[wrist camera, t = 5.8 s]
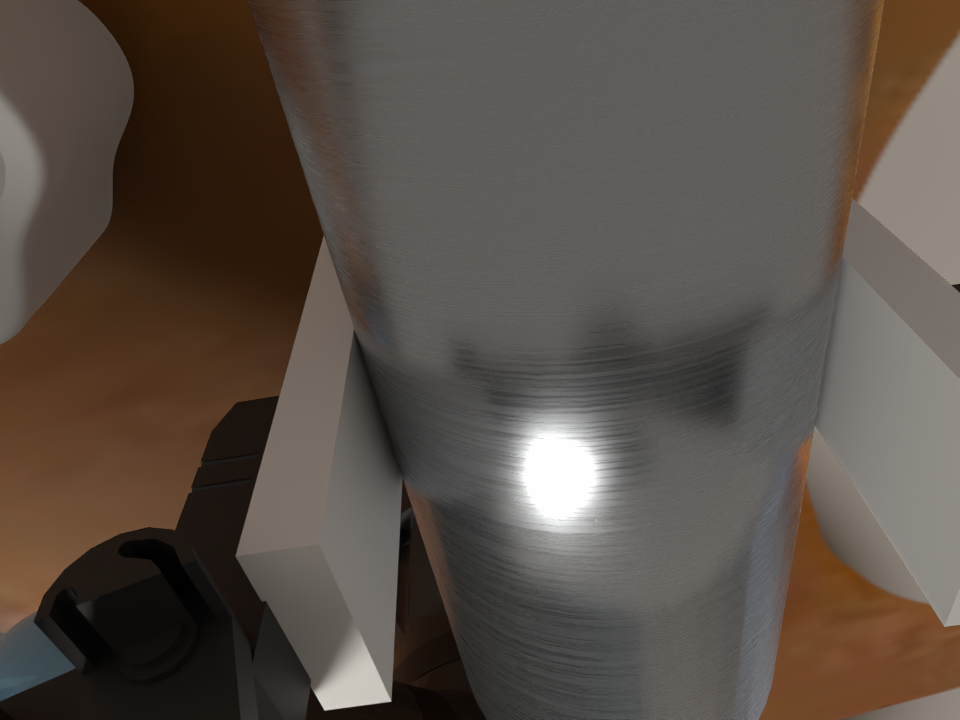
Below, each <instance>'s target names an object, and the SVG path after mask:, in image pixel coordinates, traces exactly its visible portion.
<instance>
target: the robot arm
mask: <svg viewBox="0 0 960 720" xmlns="http://www.w3.org/2000/svg"><path fill="white" fill-rule="evenodd" d="M815 426H816V427H817V429H818V430H819V432H820V433H821V435H822V437H823V438H824V440H825V441H826V443H827V444H828V446H829V447H830V449H831V451H832V452H833V454H834V455H835V457H836V458H837V460H838V461H839V463H840V465H841V466H842V467H843V469H844V471H845V472H846V474H847V476H848V477H849V479H850V480H851V482H852V483H853V485H854V486H855V488H856V489H857V491H858V493H859V494H860V496H861V497H862V499H863V500H864V502H865V503H866V505H867V507H868V508H869V510H870V511H871V513H872V514H873V516H874V517H875V519H876V521H877V522H878V524H879V525H880V527H881V528H882V530H883V532H884V533H885V535H886V536H887V538H888V539H889V541H890V543H891V544H892V546H893V547H894V549H895V550H896V552H897V553H898V555H899V557H900V558H901V560H902V561H903V563H904V564H905V566H906V567H907V569H908V570H909V572H910V574H911V575H912V577H913V578H914V580H915V581H916V583H917V585H918V586H919V588H920V589H921V591H922V592H923V594H924V596H925V597H926V599H927V600H928V602H929V603H930V605H931V606H932V608H933V610H934V611H935V613H936V614H937V616H938V617H939V619H940V620H941V622H942V624H943V625H944V627H947V626H954V625H960V284H956V285H951V284H949V283H948V282H947V281H946V280H945V279H943V278H942V277H941V276H940V275H939V274H938V273H937V272H936V271H934V270H933V269H932V268H931V267H930V266H929V265H928V264H927V263H925V262H924V261H923V260H922V259H921V258H920V257H918V256H917V255H916V254H915V253H914V252H913V251H912V250H911V249H909V248H908V247H907V246H906V245H905V244H904V243H902V242H901V241H900V240H899V239H898V238H897V237H896V236H895V235H893V234H892V233H891V232H890V231H889V230H888V229H887V228H885V227H884V226H883V225H882V224H881V223H880V222H879V221H877V220H876V219H875V218H874V217H873V216H872V215H871V214H869V213H868V212H867V211H866V210H865V209H864V208H863V207H862V206H860V205H859V204H858V203H857V202H856V201H855V200H854V199H852V201H851V207H850V213H849V219H848V226H847V232H846V238H845V244H844V250H843V256H842V262H841V268H840V274H839V280H838V286H837V292H836V298H835V304H834V310H833V316H832V322H831V329H830V335H829V341H828V347H827V353H826V359H825V365H824V371H823V377H822V383H821V389H820V395H819V401H818V407H817V413H816V419H815ZM201 464H202V466H201V467H198V470H197V473H196V476H195V478H194V481H193V484H192V486H191V487H192V493H189V494H188V497H187V500H186V502H185V505H184V508H183V510H182V513H181V516H180V519H179V521H178V524H177V527H176V529H175V531H174V530H172V529H161V528H151V527H148V528H143V529H139V530H135V531H130V532H126V533H122V534H119V535H117V536H115V537H113V538H111V539H109V540H107V541H105V542H103V543H101V544H99V545H97V546H95V547H93V548H91V549H90V550H89V551H87V552H86V553H85V554H83V555H82V556H81V557H80V558H78V559H77V560H76V561H75V562H73V563H72V564H71V565H70V566H68V567H67V568H66V569H65V570H64V571H63V572H62V573H61V575H60V576H59V577H58V578H57V580H56V581H55V582H54V583H53V585H52V586H51V587H50V588H49V590H48V591H47V592H46V593H45V595H44V596H43V599H42V601H41V604H40V606H39V609H38V611H37V612H35V613H33V614H31V615H29V616H28V617H26V618H24V619H23V620H21V621H20V622H19V623H17V624H16V625H15V626H13V627H12V628H11V629H10V630H9V631H8V632H7V633H6V634H5V635H4V636H3V637H2V638H1V639H0V720H487V719H486V718H485V716H484V714H483V712H482V710H481V709H480V707H479V705H478V703H477V702H476V699H475V697H474V694H473V691H472V689H471V686H470V684H469V681H468V678H467V675H466V672H465V669H464V665H463V662H462V659H461V656H460V653H459V650H458V647H457V644H456V641H455V638H454V635H453V632H452V628H451V625H450V622H449V619H448V616H447V613H446V610H445V607H444V604H443V601H442V598H441V595H440V592H439V588H438V585H437V582H436V579H435V576H434V573H433V570H432V567H431V564H430V561H429V558H428V555H427V551H426V548H425V545H424V542H423V539H422V536H421V533H420V530H419V527H418V524H417V521H416V518H415V514H414V511H413V508H412V505H411V502H410V499H409V496H408V493H407V490H406V487H405V484H404V481H403V477H402V474H401V471H400V468H399V465H398V462H397V459H396V456H395V453H394V450H393V447H392V444H391V440H390V437H389V434H388V431H387V428H386V425H385V422H384V419H383V416H382V413H381V410H380V407H379V403H378V400H377V397H376V394H375V391H374V388H373V385H372V382H371V379H370V376H369V373H368V370H367V366H366V363H365V360H364V357H363V354H362V351H361V348H360V345H359V342H358V339H357V336H356V333H355V329H354V326H353V323H352V320H351V317H350V314H349V311H348V308H347V305H346V302H345V299H344V296H343V292H342V289H341V286H340V283H339V280H338V277H337V274H336V271H335V268H334V265H333V262H332V259H331V255H330V252H329V249H328V246H327V243H326V240H325V237H324V236H323V240H322V243H321V247H320V251H319V254H318V258H317V262H316V265H315V269H314V273H313V276H312V280H311V284H310V287H309V291H308V294H307V298H306V302H305V305H304V309H303V313H302V316H301V320H300V324H299V327H298V331H297V334H296V338H295V342H294V345H293V349H292V353H291V356H290V360H289V364H288V367H287V371H286V375H285V378H284V382H283V385H282V389H281V393H280V396H274V397H268V398H262V399H255V400H249V401H243V402H237V403H236V404H235V405H234V406H233V407H232V409H231V410H230V411H229V412H228V413H227V414H226V415H225V417H224V418H223V419H222V420H221V421H220V422H219V424H218V425H217V426H216V427H215V428H214V429H213V430H212V432H211V435H210V438H209V441H208V443H207V446H206V449H205V451H204V454H203V457H202V459H201Z"/></svg>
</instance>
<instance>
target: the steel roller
mask: <svg viewBox="0 0 960 720" xmlns="http://www.w3.org/2000/svg"><path fill="white" fill-rule="evenodd" d="M884 1H885V0H248V3H249V6H250V9H251V12H252V15H253V18H254V21H255V24H256V27H257V30H258V34H259V37H260V40H261V43H262V46H263V49H264V52H265V55H266V58H267V61H268V64H269V67H270V71H271V74H272V77H273V80H274V83H275V86H276V89H277V92H278V95H279V98H280V101H281V104H282V107H283V111H284V114H285V117H286V120H287V123H288V126H289V129H290V132H291V135H292V138H293V141H294V144H295V148H296V151H297V154H298V157H299V160H300V163H301V166H302V169H303V172H304V175H305V178H306V181H307V185H308V188H309V191H310V194H311V197H312V200H313V203H314V206H315V209H316V212H317V215H318V218H319V222H320V225H321V228H322V231H323V234H324V237H325V240H326V243H327V246H328V249H329V252H330V255H331V259H332V262H333V265H334V268H335V271H336V274H337V277H338V280H339V283H340V286H341V289H342V292H343V296H344V299H345V302H346V305H347V308H348V311H349V314H350V317H351V320H352V323H353V326H354V329H355V333H356V336H357V339H358V342H359V345H360V348H361V351H362V354H363V357H364V360H365V363H366V366H367V370H368V373H369V376H370V379H371V382H372V385H373V388H374V391H375V394H376V397H377V400H378V403H379V407H380V410H381V413H382V416H383V419H384V422H385V425H386V428H387V431H388V434H389V437H390V440H391V444H392V447H393V450H394V453H395V456H396V459H397V462H398V465H399V468H400V471H401V474H402V477H403V481H404V484H405V487H406V490H407V493H408V496H409V499H410V502H411V505H412V508H413V511H414V514H415V518H416V521H417V524H418V527H419V530H420V533H421V536H422V539H423V542H424V545H425V548H426V551H427V555H428V558H429V561H430V564H431V567H432V570H433V573H434V576H435V579H436V582H437V585H438V588H439V592H440V595H441V598H442V601H443V604H444V607H445V610H446V613H447V616H448V619H449V622H450V625H451V628H452V632H453V635H454V638H455V641H456V644H457V647H458V650H459V653H460V656H461V659H462V662H463V665H464V669H465V672H466V675H467V678H468V681H469V684H470V686H471V689H472V691H473V694H474V697H475V699H476V702H477V703H478V705H479V707H480V709H481V710H482V712H483V714H484V716H485V718H486V719H487V720H758V719H759V717H760V715H761V713H762V711H763V709H764V707H765V705H766V702H767V699H768V696H769V692H770V689H771V686H772V680H773V674H774V668H775V662H776V656H777V650H778V644H779V638H780V631H781V625H782V619H783V613H784V607H785V601H786V595H787V589H788V583H789V577H790V571H791V565H792V559H793V553H794V547H795V541H796V535H797V528H798V522H799V516H800V510H801V504H802V498H803V492H804V486H805V480H806V474H807V468H808V462H809V455H810V449H811V444H812V438H813V432H814V425H815V419H816V413H817V407H818V401H819V395H820V389H821V383H822V377H823V371H824V365H825V359H826V353H827V347H828V341H829V335H830V329H831V322H832V316H833V310H834V304H835V298H836V292H837V286H838V280H839V274H840V268H841V262H842V256H843V250H844V244H845V238H846V232H847V226H848V219H849V213H850V207H851V201H852V195H853V189H854V183H855V177H856V171H857V165H858V159H859V153H860V147H861V141H862V135H863V129H864V122H865V116H866V110H867V104H868V98H869V92H870V86H871V80H872V74H873V68H874V62H875V56H876V50H877V44H878V38H879V32H880V26H881V19H882V13H883V7H884Z"/></svg>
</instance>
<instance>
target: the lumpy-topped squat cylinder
mask: <svg viewBox="0 0 960 720" xmlns="http://www.w3.org/2000/svg"><path fill="white" fill-rule="evenodd" d="M133 100H134V83H133V77H132V73H131V69H130V67H129V64H128V62H127V59H126V57H125V55H124V53H123V51H122V50H121V48H120V46H119V45H118V43H117V42H116V40H115V39H114V37H113V36H112V34H111V33H110V32H109V30H108V29H107V28H106V27H105V26H104V24H103V23H102V22H101V21H100V20H99V19H98V18H97V17H96V16H95V15H94V14H93V13H92V12H91V11H90V10H89V9H88V8H87V7H86V6H84V5H83V4H82V3H81V2H80V1H78V0H0V344H2V343H4V342H6V341H8V340H9V339H11V338H12V337H14V336H15V335H16V334H17V333H18V332H19V331H20V330H21V329H22V328H23V327H24V326H25V325H26V323H27V322H28V320H29V319H30V318H31V317H32V315H33V314H34V313H35V312H36V311H37V310H38V309H39V308H40V307H41V306H42V305H43V304H44V302H45V301H46V300H47V299H48V298H49V297H50V296H51V294H52V293H53V292H54V291H55V290H56V288H57V287H58V286H59V285H60V284H61V283H62V281H63V280H64V279H65V278H66V276H67V275H68V274H69V273H70V272H71V270H72V269H73V268H74V267H75V266H76V264H77V263H78V262H79V261H80V260H81V258H82V257H83V256H84V255H85V254H86V252H87V251H88V250H89V249H90V248H91V247H92V245H93V244H94V243H95V242H96V241H97V239H98V238H99V237H100V236H101V235H102V233H103V232H104V231H105V229H106V228H107V226H108V224H109V221H110V218H111V214H112V205H113V165H114V159H115V154H116V151H117V148H118V145H119V142H120V139H121V137H122V135H123V132H124V130H125V128H126V125H127V122H128V120H129V117H130V114H131V110H132V106H133Z"/></svg>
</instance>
